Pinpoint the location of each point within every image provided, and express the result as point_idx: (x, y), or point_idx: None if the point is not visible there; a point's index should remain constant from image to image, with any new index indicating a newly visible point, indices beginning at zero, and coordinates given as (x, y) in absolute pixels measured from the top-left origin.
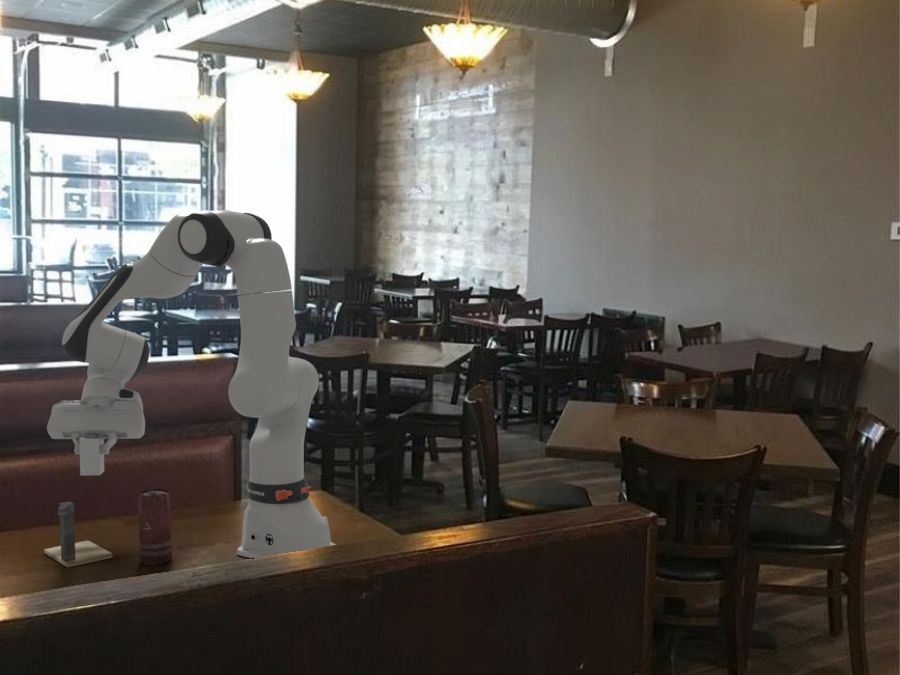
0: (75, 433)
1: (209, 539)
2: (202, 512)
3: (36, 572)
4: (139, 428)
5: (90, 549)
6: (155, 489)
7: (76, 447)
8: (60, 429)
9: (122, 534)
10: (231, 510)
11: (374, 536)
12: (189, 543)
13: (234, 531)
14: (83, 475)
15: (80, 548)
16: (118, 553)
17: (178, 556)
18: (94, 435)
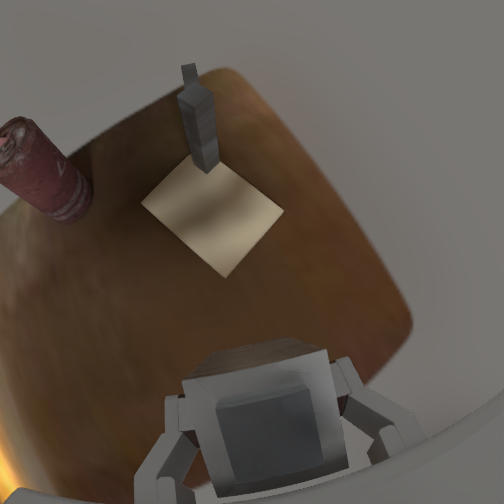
0: (407, 442)
1: (27, 324)
2: (105, 492)
3: (239, 126)
4: (10, 496)
5: (190, 219)
6: (3, 168)
7: (345, 372)
8: (495, 403)
9: (184, 354)
10: (67, 494)
11: None
12: (46, 299)
13: (11, 370)
14: (274, 339)
15: (214, 223)
16: (140, 229)
17: (47, 228)
18: (227, 406)
